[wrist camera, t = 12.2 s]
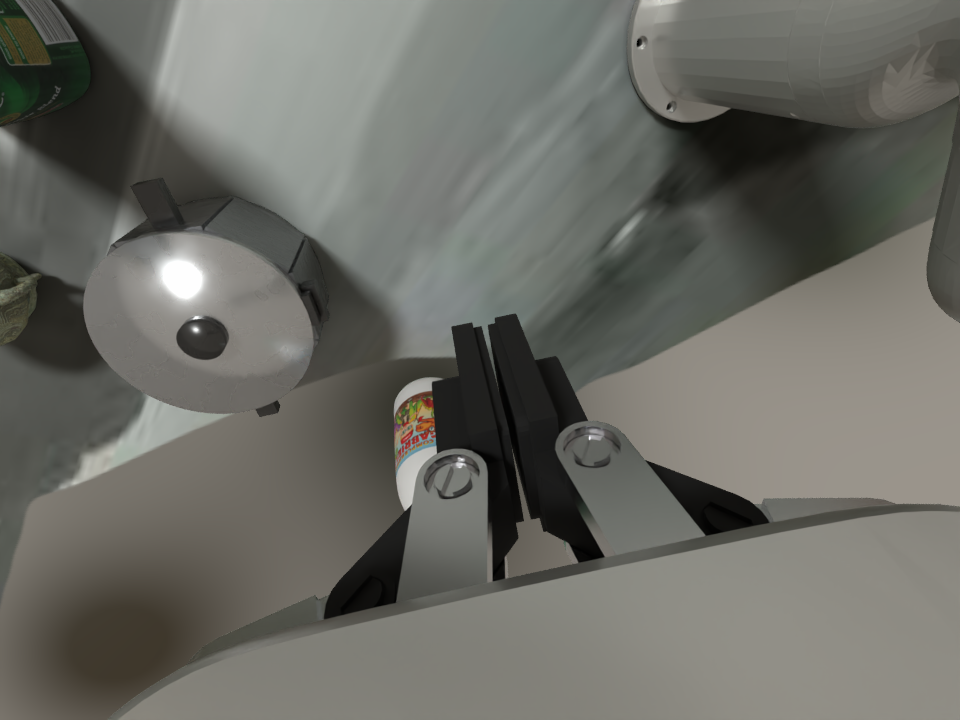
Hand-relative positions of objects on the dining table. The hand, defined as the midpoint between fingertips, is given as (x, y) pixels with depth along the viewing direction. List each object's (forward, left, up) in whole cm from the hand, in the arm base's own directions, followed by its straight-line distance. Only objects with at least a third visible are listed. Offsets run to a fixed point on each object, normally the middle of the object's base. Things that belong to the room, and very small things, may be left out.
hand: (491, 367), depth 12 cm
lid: (+17, +7, -22) cm, 29 cm away
